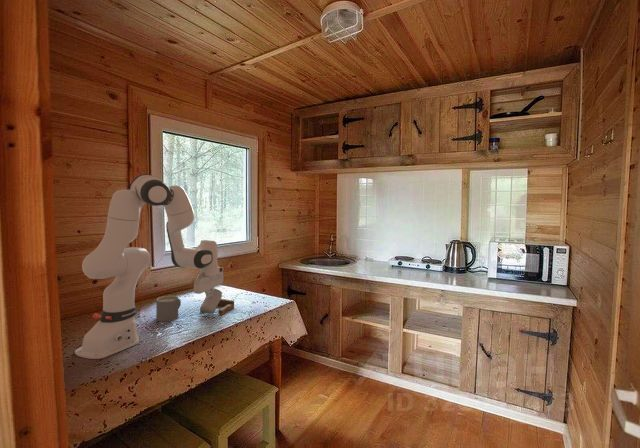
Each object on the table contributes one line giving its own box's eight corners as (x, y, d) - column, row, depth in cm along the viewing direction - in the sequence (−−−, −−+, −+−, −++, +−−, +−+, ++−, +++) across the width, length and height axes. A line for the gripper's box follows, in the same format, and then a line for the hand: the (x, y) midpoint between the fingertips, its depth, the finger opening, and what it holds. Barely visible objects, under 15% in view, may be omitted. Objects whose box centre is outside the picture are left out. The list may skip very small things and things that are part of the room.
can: (214, 315, 165) (224, 295, 172) (211, 309, 159) (221, 289, 167) (202, 312, 166) (212, 292, 174) (197, 306, 160) (208, 286, 168)
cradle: (221, 315, 165) (221, 307, 165) (200, 312, 168) (200, 304, 168) (234, 307, 177) (234, 300, 177) (213, 304, 180) (213, 297, 180)
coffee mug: (164, 323, 152) (164, 303, 151) (152, 318, 157) (152, 299, 156) (188, 315, 163) (188, 296, 163) (175, 311, 168) (176, 292, 167)
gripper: (201, 276, 150) (201, 304, 152) (225, 267, 170) (225, 292, 171) (190, 275, 152) (190, 302, 153) (215, 266, 172) (215, 290, 173)
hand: (209, 297), depth 162 cm, fingers closed
